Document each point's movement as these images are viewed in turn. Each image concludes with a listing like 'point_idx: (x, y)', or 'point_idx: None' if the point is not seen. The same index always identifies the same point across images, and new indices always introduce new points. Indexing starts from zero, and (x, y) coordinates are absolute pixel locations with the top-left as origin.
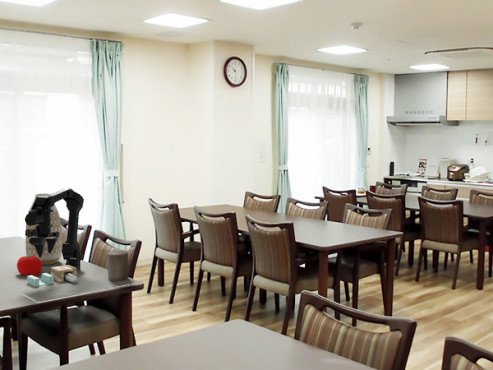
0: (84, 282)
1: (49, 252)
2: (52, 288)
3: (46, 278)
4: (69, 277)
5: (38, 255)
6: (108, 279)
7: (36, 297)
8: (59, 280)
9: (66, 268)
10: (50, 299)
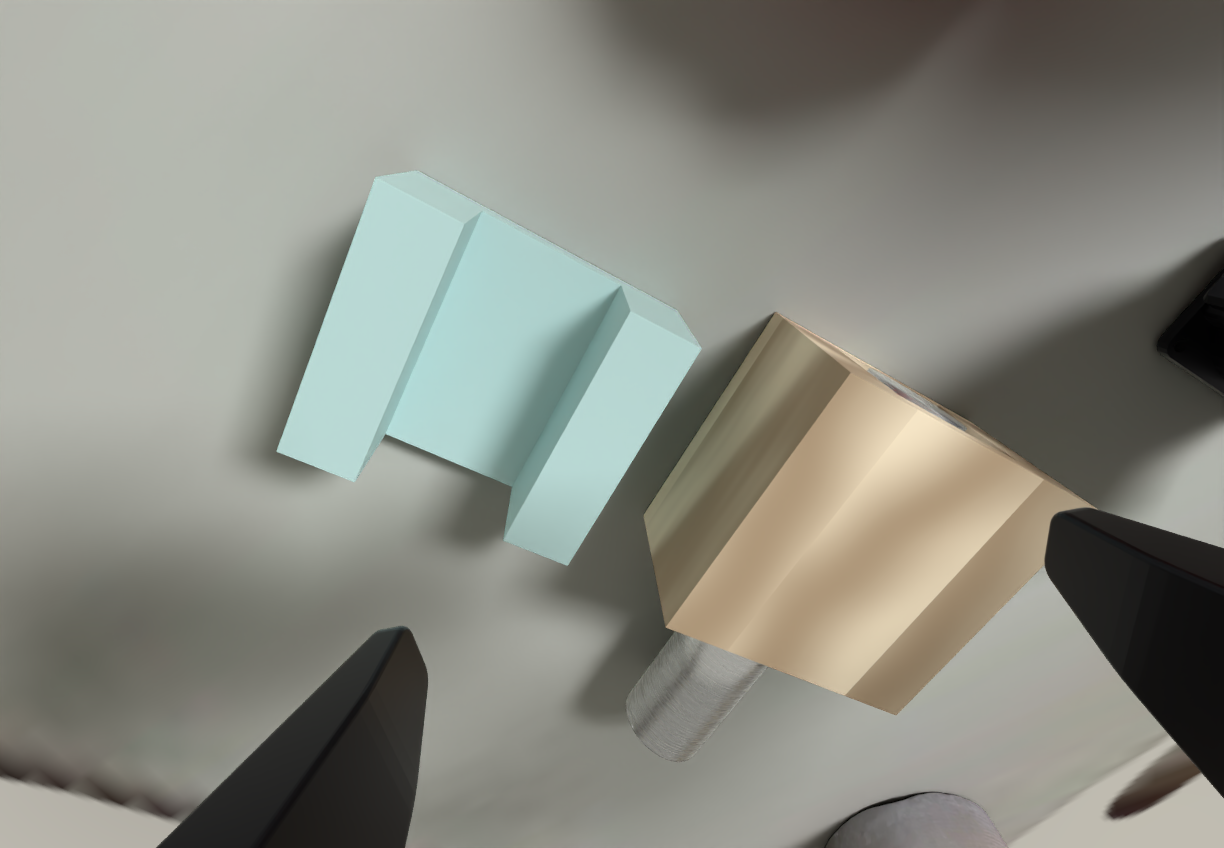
0: (764, 690)
1: (1065, 552)
2: (437, 570)
3: (543, 451)
4: (666, 680)
5: (335, 678)
6: (859, 831)
7: (83, 636)
8: (651, 538)
9: (845, 623)
10: (133, 762)
